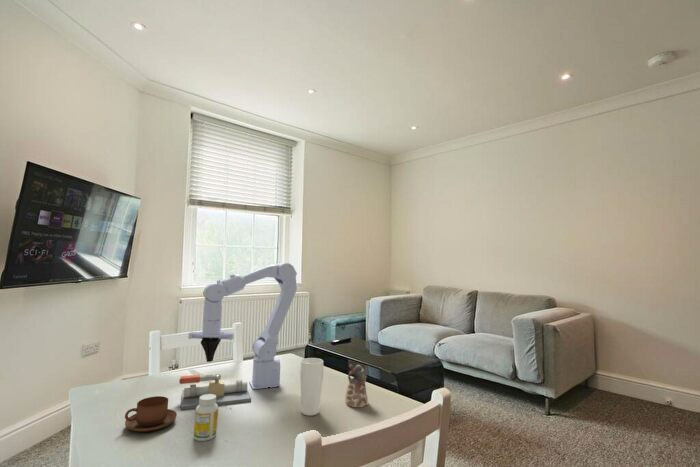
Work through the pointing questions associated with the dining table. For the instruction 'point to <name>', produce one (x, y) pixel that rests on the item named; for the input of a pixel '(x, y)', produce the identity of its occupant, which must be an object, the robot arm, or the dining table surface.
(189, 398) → the valve board
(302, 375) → the drinking glass
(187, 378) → the valve lever
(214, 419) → the supplement bottle
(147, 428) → the cup and saucer
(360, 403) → the figurine
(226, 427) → the dining table surface
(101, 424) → the dining table surface
